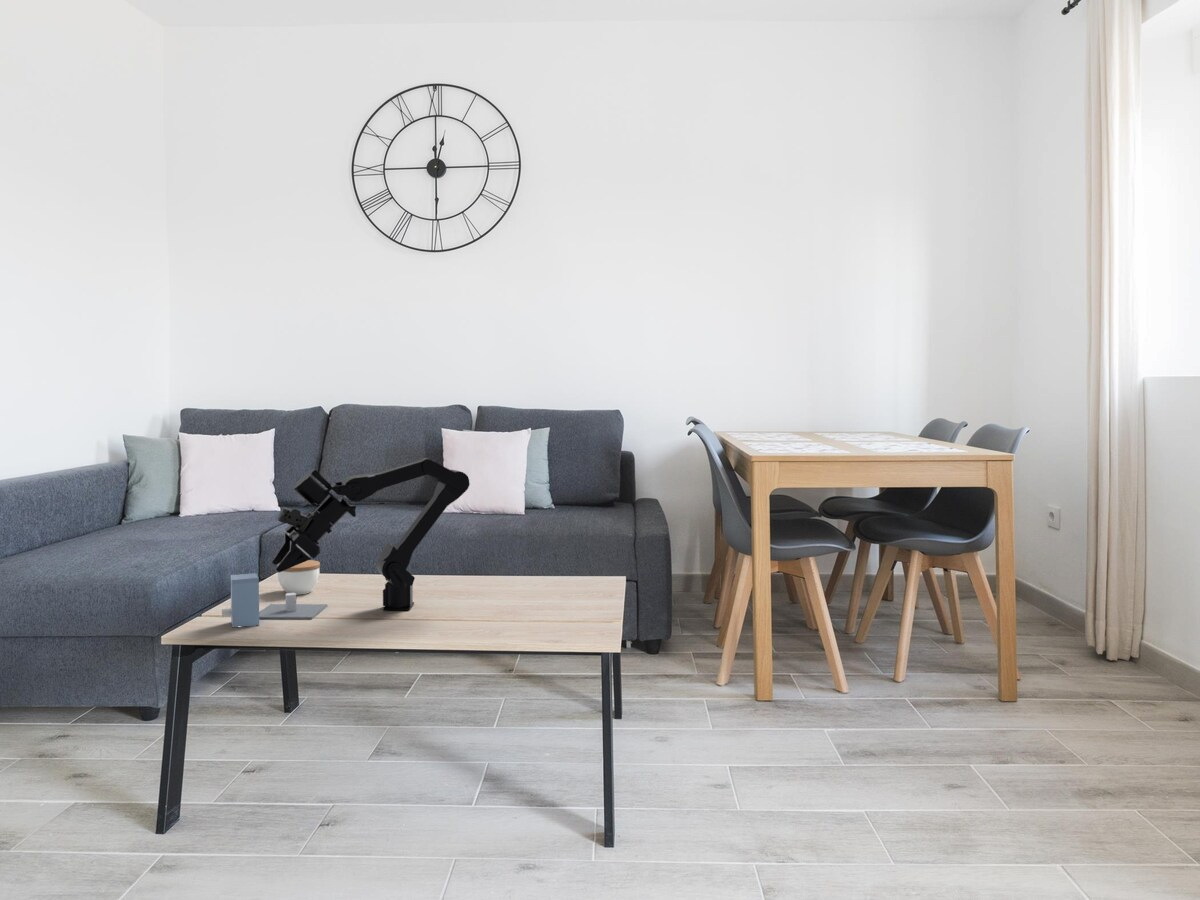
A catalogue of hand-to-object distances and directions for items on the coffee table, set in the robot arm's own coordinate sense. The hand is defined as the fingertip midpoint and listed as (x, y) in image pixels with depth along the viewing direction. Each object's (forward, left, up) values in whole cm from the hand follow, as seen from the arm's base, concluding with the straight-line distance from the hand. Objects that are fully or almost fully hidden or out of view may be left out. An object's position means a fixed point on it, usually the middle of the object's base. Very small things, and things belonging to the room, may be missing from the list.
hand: (275, 567), depth 187 cm
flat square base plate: (-1, -7, -13) cm, 15 cm away
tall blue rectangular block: (+6, +3, -13) cm, 14 cm away
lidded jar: (+4, -28, -13) cm, 31 cm away
